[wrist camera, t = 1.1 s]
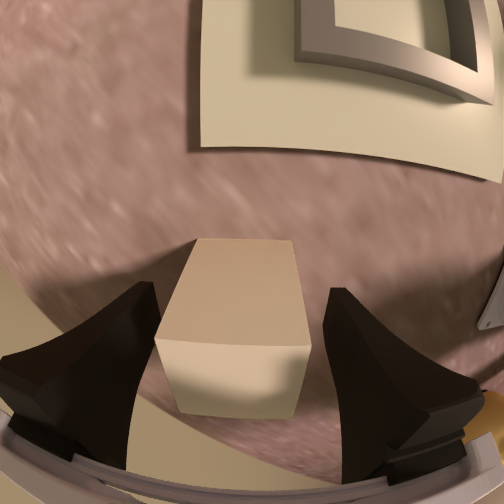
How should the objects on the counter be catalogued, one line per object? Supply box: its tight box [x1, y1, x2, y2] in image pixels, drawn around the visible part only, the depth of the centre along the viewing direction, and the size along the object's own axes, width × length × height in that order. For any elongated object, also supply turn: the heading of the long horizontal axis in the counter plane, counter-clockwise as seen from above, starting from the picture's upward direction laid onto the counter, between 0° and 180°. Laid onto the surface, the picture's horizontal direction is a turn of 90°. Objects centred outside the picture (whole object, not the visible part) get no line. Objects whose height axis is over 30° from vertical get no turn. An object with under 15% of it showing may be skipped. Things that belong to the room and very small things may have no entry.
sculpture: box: [462, 391, 504, 467], centre depth 16 cm, size 12×12×11 cm
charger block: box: [154, 238, 312, 419], centre depth 10 cm, size 4×4×6 cm
